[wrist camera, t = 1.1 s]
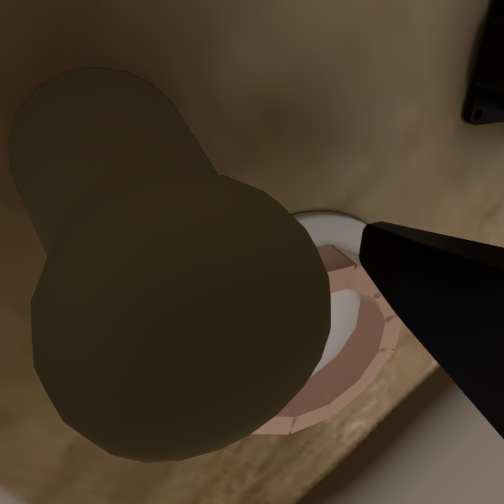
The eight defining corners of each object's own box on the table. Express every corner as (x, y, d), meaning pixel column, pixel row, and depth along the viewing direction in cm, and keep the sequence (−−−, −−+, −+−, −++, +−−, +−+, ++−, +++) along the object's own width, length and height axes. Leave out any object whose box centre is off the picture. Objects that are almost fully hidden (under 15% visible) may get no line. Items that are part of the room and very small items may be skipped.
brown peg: (168, 246, 18) (311, 484, 9) (-2, 228, 15) (-28, 565, 6) (210, 97, 16) (446, 227, 7) (20, 39, 12) (28, 146, 4)
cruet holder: (409, 191, 22) (452, 213, 20) (370, 373, 29) (399, 404, 27) (159, 240, 17) (180, 276, 15) (181, 445, 24) (198, 490, 22)
